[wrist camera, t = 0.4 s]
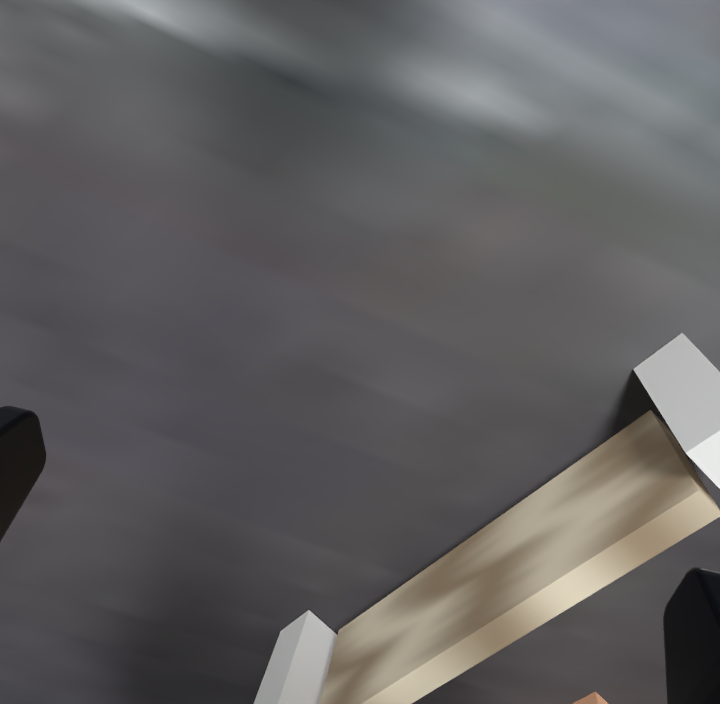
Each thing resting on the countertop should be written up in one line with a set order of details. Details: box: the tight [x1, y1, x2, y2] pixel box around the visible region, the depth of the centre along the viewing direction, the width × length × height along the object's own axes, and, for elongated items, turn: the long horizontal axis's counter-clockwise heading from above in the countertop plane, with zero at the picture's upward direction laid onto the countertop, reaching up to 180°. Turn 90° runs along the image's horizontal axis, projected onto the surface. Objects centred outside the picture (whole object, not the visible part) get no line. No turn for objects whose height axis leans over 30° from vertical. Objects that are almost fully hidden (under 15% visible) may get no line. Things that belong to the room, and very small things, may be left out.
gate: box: [320, 410, 720, 704], centre depth 22 cm, size 16×1×5 cm, turn 136°
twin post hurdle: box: [254, 333, 720, 704], centre depth 20 cm, size 22×3×12 cm, turn 136°
